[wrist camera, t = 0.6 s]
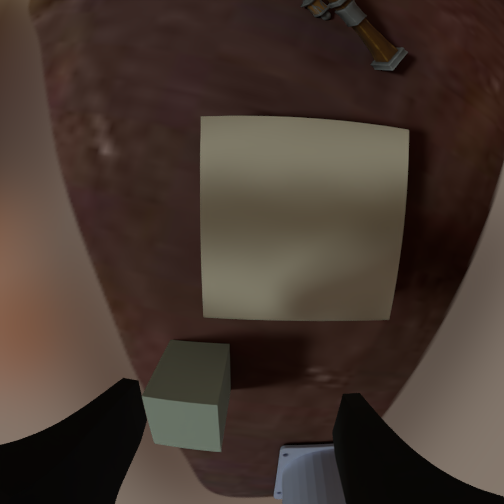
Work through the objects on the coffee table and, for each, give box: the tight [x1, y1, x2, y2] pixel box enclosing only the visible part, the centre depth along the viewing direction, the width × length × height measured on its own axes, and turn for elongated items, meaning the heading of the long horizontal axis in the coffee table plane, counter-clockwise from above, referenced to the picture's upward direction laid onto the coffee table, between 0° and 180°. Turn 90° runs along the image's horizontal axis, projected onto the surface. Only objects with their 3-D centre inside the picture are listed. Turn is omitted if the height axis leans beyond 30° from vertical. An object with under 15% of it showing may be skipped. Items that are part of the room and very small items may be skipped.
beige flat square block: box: [200, 116, 409, 321], centre depth 16 cm, size 10×10×3 cm
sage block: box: [142, 340, 231, 452], centre depth 18 cm, size 4×4×6 cm
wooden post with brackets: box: [301, 0, 408, 71], centre depth 13 cm, size 2×8×4 cm, turn 52°
